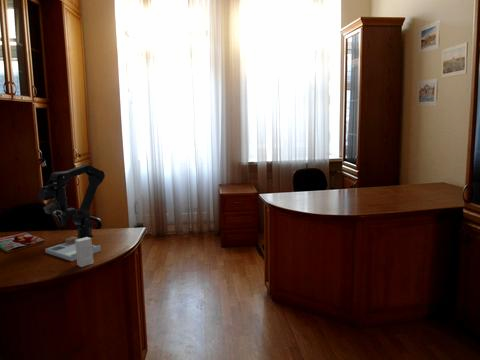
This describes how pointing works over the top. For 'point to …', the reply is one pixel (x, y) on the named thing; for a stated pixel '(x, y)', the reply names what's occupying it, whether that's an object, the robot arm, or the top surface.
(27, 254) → the top surface
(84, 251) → the skincare box
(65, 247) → the board
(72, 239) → the brown flat block
